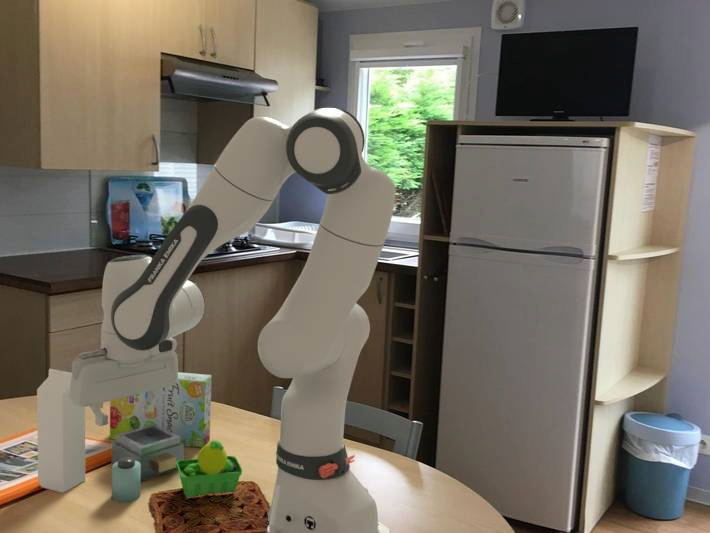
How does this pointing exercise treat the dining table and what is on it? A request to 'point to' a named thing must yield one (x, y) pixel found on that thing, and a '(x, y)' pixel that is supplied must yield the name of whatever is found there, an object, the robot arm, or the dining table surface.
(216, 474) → the fruit basket
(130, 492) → the capped canister
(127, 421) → the snack box
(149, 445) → the gray drawer
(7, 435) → the dining table surface
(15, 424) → the dining table surface
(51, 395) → the milk
